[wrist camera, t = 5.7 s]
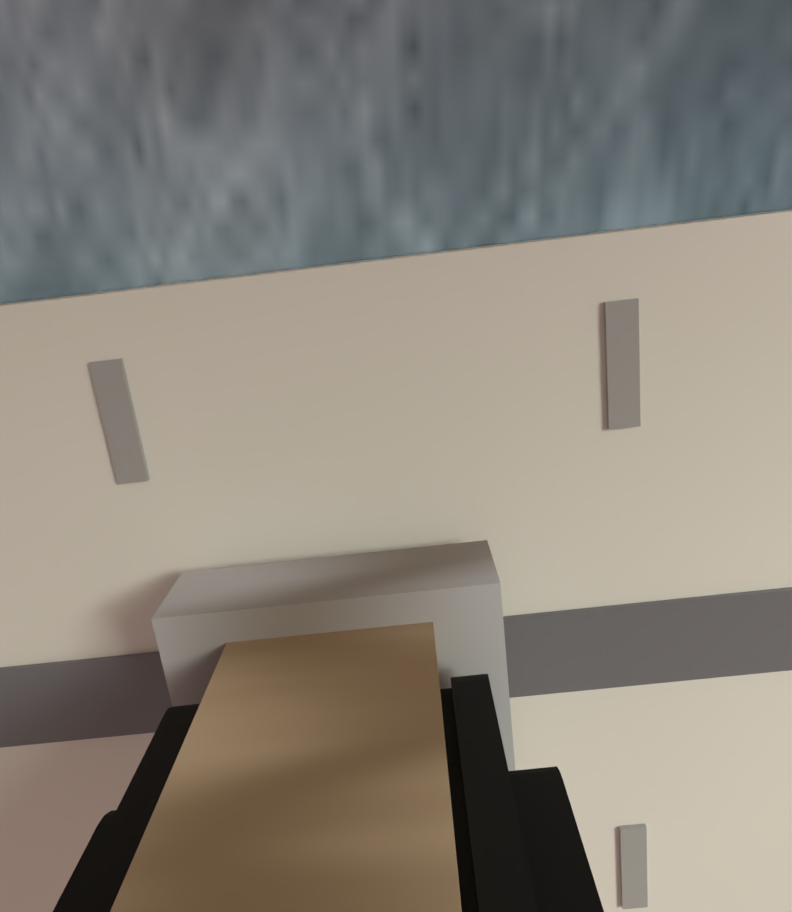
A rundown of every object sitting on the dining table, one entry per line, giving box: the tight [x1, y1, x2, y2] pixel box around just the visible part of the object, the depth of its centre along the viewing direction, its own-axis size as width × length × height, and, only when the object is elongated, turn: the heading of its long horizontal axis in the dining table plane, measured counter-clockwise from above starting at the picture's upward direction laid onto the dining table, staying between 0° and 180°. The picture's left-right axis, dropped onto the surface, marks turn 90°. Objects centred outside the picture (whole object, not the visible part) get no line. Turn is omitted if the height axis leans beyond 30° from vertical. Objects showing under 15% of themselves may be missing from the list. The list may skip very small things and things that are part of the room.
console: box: [0, 209, 792, 912], centre depth 14 cm, size 26×14×3 cm, turn 97°
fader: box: [110, 540, 515, 912], centre depth 9 cm, size 5×5×6 cm
